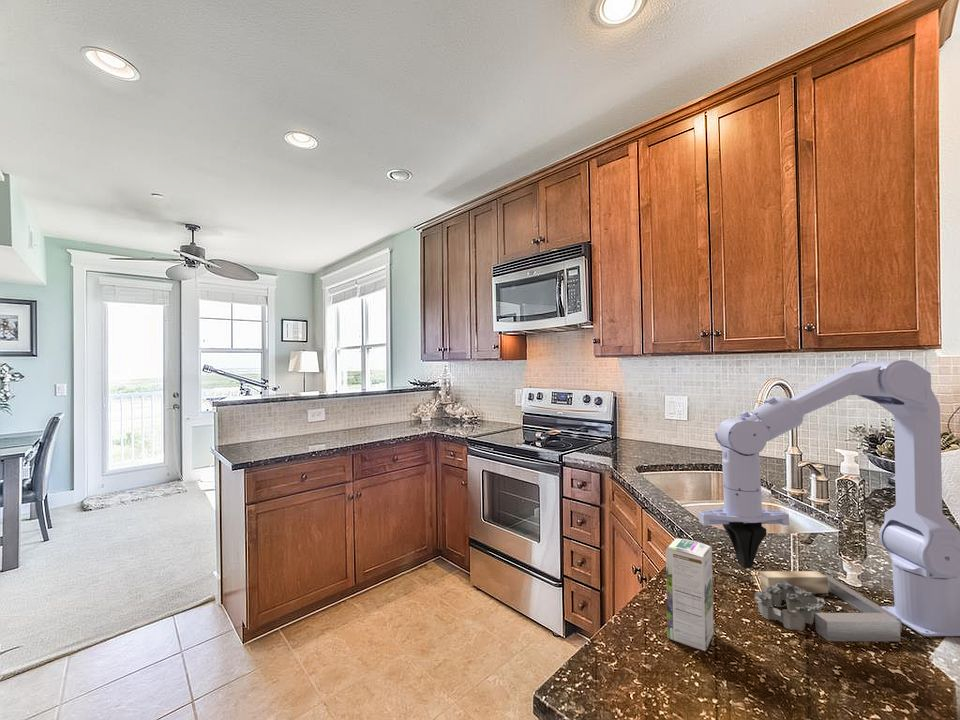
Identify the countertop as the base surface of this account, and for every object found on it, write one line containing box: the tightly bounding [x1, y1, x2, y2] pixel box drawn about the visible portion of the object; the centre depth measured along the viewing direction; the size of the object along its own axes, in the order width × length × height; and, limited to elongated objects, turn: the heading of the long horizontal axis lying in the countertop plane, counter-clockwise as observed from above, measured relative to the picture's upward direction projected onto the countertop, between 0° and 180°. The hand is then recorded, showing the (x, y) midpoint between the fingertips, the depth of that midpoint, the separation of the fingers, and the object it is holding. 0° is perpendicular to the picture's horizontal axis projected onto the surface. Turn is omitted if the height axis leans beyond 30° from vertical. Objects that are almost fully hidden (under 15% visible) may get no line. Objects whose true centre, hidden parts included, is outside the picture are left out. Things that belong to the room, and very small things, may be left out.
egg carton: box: [754, 580, 826, 632], centre depth 75 cm, size 11×8×4 cm
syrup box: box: [665, 537, 715, 652], centre depth 69 cm, size 6×6×14 cm
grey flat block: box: [814, 574, 903, 642], centre depth 76 cm, size 14×18×3 cm
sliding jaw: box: [759, 570, 829, 594], centre depth 82 cm, size 11×2×3 cm, turn 88°
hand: (745, 565), depth 75 cm, fingers closed
